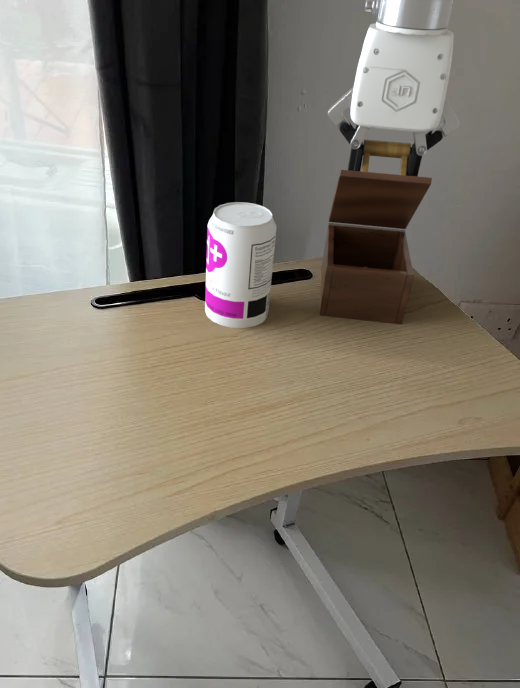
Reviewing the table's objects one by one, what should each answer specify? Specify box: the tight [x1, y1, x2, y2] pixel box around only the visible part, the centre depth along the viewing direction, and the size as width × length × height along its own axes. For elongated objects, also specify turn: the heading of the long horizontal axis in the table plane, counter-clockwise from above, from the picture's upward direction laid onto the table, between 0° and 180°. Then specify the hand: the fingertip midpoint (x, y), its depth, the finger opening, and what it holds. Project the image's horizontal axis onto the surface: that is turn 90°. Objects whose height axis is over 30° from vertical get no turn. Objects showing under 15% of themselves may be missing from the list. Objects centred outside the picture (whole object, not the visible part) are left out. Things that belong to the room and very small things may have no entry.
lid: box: [328, 138, 433, 230], centre depth 84 cm, size 14×11×6 cm
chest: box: [318, 222, 415, 325], centre depth 89 cm, size 14×11×9 cm
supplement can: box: [204, 201, 278, 329], centre depth 82 cm, size 8×8×15 cm
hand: (380, 180), depth 81 cm, fingers closed on lid, 5 cm apart
